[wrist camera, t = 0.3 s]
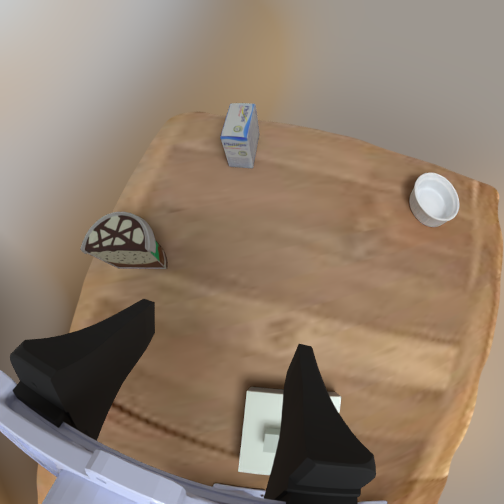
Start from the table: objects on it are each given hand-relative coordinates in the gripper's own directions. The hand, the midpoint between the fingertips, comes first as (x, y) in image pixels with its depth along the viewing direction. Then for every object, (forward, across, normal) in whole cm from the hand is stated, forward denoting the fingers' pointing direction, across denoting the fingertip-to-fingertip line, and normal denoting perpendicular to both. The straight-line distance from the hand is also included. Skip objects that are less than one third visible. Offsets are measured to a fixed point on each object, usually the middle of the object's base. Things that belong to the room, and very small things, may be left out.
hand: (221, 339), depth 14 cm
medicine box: (+43, +8, -3) cm, 44 cm away
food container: (+29, +20, +14) cm, 38 cm away
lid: (+10, -9, +24) cm, 28 cm away
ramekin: (+38, -25, -3) cm, 46 cm away
